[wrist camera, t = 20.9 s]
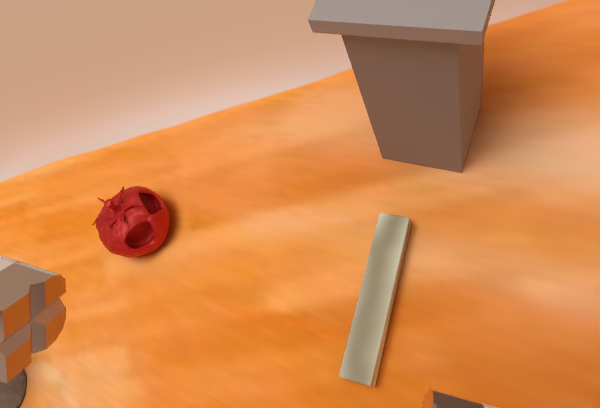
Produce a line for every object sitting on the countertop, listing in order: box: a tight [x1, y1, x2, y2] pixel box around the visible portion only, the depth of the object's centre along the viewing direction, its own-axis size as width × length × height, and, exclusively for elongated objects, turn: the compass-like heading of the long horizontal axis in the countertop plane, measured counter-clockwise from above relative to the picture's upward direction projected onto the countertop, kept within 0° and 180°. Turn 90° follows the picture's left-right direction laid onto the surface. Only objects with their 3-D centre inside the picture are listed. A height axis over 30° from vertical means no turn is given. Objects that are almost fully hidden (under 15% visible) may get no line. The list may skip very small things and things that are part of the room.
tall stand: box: [308, 0, 495, 173], centre depth 50 cm, size 14×12×26 cm
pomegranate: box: [92, 186, 170, 257], centre depth 66 cm, size 10×10×9 cm
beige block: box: [339, 213, 412, 387], centre depth 54 cm, size 4×19×3 cm, turn 163°
